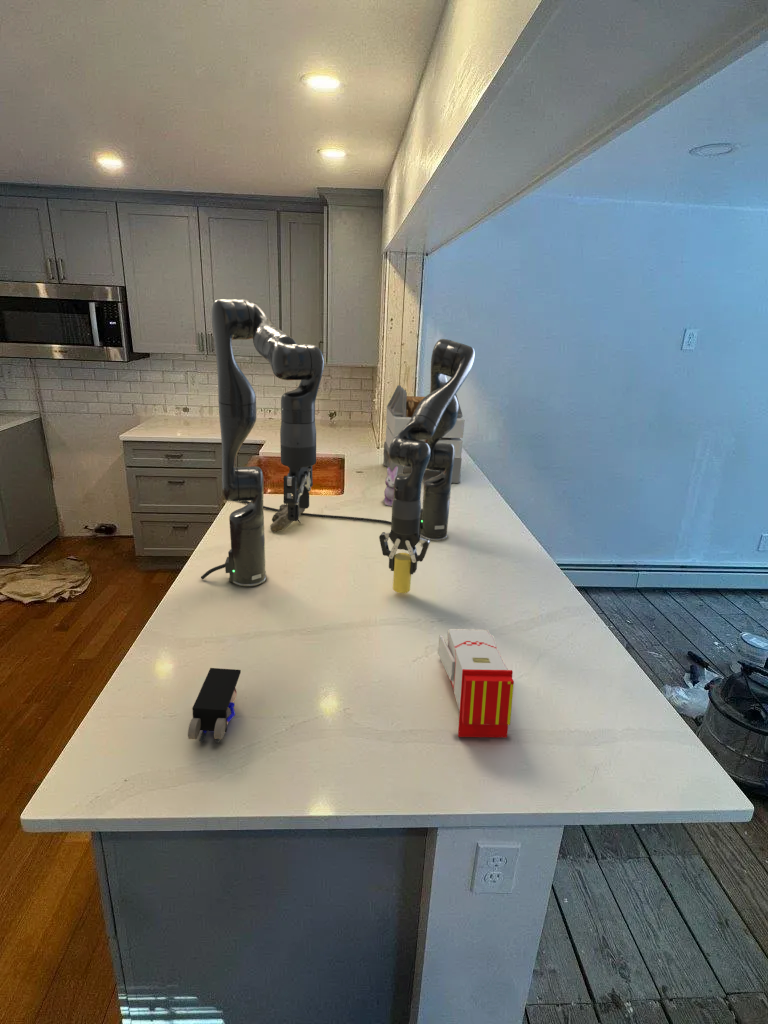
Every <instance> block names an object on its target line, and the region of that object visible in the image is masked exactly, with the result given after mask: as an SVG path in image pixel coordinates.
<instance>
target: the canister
mask: <svg viewBox="0 0 768 1024" xmlns="http://www.w3.org/2000/svg"><path fill="white" fill-rule="evenodd" d="M411 561H412V560H411V556H410V555H409V552H408V553H407V552H396V554H395V556H394V571H393V578H392V590H393V591H394V592H395V593H399V594H407V593H409V592H410V591H411V583H412V580H411V579H412V574H410V568H411Z"/></svg>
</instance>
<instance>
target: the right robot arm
mask: <svg viewBox="0 0 768 1024" xmlns="http://www.w3.org/2000/svg"><path fill="white" fill-rule="evenodd" d="M475 354H476V353H475V349H474V347H472V346H471V345H467V344H465V343H462V342H458V341H455V340H451V339H446V338H441V339H438V340H437V341H436V342H435V344H434V346H433V348H432V353H431V358H430V388H429V389H430V390H429V394H427V395H426V396H423V397H424V398H423V399H422V400H421V401H420V403H419V404H418V406H417V408H416V410H415V412H414V414H413V416H412V418H411V420H410V422H409V423H408V424H407V425H406V426H405V427H404V428H403V429H402V430H401V431H400V432H399V433H398V434H397V436H396V437H395V438H394V439H393V441H392V442H391V444H390V447H389V458H390V460H391V461H392V462H393V463H394V464H397V465H403V466H404V467H407V468H411V471H410V472H406V473H404V472H403V474H399V475H397V476H396V478H395V481H394V498H393V503H392V506H391V521H389V520H385V519H376V518H366V517H359V516H358V517H357V516H346V515H333V514H332V515H331V514H330V515H329V514H321V513H307V512H303V513H301V514H300V516H305V517H316V518H326V519H340V520H351V521H352V520H353V521H363V522H371V523H372V522H373V523H381V524H387V525H390V532H387V533H386V532H385V531H383V532H381V533H380V534H379V536H378V539H379V543H380V548H381V553H382V556H384V557H388V568H389V569H390V572H394V556H395V554H397V553H398V550H404V551H407V552H408V554H409V555H410V556H411V560H412V561H411V568H410V574H411V575H414V574H415V573H416V572H417V570H418V562H420V563H421V562H423V561H424V559H425V557H426V554H427V551H428V549H429V546H430V543H431V541H432V542H440V541H444V540H446V539H447V538H448V525H449V517H450V516H449V514H450V504H451V494H452V493H451V491H452V483H451V480H452V471H453V464H454V457H455V449H454V446H453V445H452V444H447V443H437V442H438V441H439V440H440V439H441V438H442V437H444V436H445V435H446V434H447V433H448V432H449V431H450V430H451V429H452V428H453V427H454V426H455V424H456V420H457V415H458V408H459V405H460V404H459V405H458V402H459V400H458V401H457V398H458V397H457V398H456V396H455V395H457V394H458V392H459V390H460V389H461V387H462V386H463V384H464V383H465V381H466V379H467V378H468V376H469V374H470V372H471V370H472V368H473V365H474V362H475ZM447 377H448V378H450V379H448V378H447ZM420 440H424V441H420ZM426 471H435V472H436V471H437V472H440V471H443V472H442V473H441V472H440V473H439V474H438V475H435V476H432V477H429V478H427V479H425V480H424V476H425V474H426ZM423 481H424V482H423ZM422 485H423V493H422ZM422 496H423V497H422ZM421 497H422V501H421ZM239 502H241V503H242V504H246V505H247V504H249V503H250V502H251V501H239ZM263 510H268V511H271V512H276V513H277V512H279V508H274V507H270V506H265V505H263ZM389 539H390V541H391V542H392V544H393V546H392V548H391V550H390V547H389V542H388V541H389ZM417 544H420V547H421V550H420V553H419V554H418V552H417V551H418V550H417Z"/></svg>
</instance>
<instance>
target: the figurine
mask: <svg viewBox="0 0 768 1024" xmlns="http://www.w3.org/2000/svg"><path fill="white" fill-rule="evenodd" d="M386 472H387V475H386V478H385V486H386V487H385V489H384V494H383V495H384V499H383V503H384V505H385V506H390V507H392V503H393V498H394V481H395V478H396V476H397V472H398V467H397V466H396V467H395V468H394V470H393V471H391V469H390V467H387V468H386Z"/></svg>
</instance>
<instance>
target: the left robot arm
mask: <svg viewBox="0 0 768 1024" xmlns="http://www.w3.org/2000/svg"><path fill="white" fill-rule="evenodd" d="M211 325H212V327H211V328H212V335H213V342H214V350H215V358H216V359H215V361H216V371H217V395H218V396H217V399H218V418H219V427H220V428H219V429H220V439H221V440H220V441H221V490H222V495H223V498H224V500H226V501H227V502H231V503H232V502H240V501H248V502H250V503H249V504H246V505H244V506H242V507H240V508H238V509H235V510H234V511H232V512H231V513H230V514H229V519H228V520H229V534H230V535H229V536H230V549H229V550H228V556H226V559H225V561H224V563H223V564H220V565H217V566H215V567H213V568H210V569H209V570H207V571H206V572H205V573H203V574H202V575H201V576H200V579H201V580H205V579H206V578H207V577H208V576H209V575H211V574H212V573H214V572H216V571H219V570H221V569H225V570H224V571H225V574H229V582H230V583H232V584H234V585H236V586H239V587H255V586H259V585H262V584H264V583H265V581H266V580H267V574H266V573H267V572H266V571H267V570H266V550H265V549H266V544H265V542H266V541H265V515H264V509H263V506H264V491H265V489H264V488H265V479H264V473H263V470H262V468H261V467H260V466H253V465H252V466H235V462H236V459H237V456H238V453H239V452H240V449H241V448H242V445H243V444H244V442H245V440H246V439H247V438H248V436H249V434H250V433H251V431H252V430H253V429H254V427H255V424H256V421H257V395H256V392H255V390H254V387H253V386H252V384H251V383H250V381H249V379H248V378H247V376H246V375H245V373H244V372H243V370H242V369H241V368H240V366H239V365H238V363H237V360H236V358H235V355H234V350H233V345H232V341H246V340H251V339H252V343H253V346H254V347H253V348H254V349H255V351H256V352H257V354H259V355H260V356H261V357H262V358H263V359H265V360H266V361H267V362H268V363H269V366H270V367H271V371H272V373H273V375H274V376H275V377H276V378H278V379H280V380H282V381H300V382H299V385H298V386H297V388H295V389H292V390H290V391H286V392H284V393H282V395H281V398H280V420H281V421H280V429H279V430H280V432H279V433H280V434H279V436H280V441H279V442H280V463H281V464H282V466H285V467H288V468H289V469H288V473H287V475H284V476H283V504H285V505H286V504H288V520H289V521H294V522H298V520H300V516H299V507H300V508H306V509H308V508H310V492H311V490H312V487H313V486H314V482H313V466H315V464H317V426H316V401H317V396H318V392H319V387H320V384H321V381H322V377H323V374H324V369H325V358H324V354H323V352H322V350H321V349H320V347H319V346H317V345H316V344H313V343H297V342H296V340H295V339H294V338H293V337H292V336H290V335H289V334H288V333H287V332H285V331H284V330H282V329H281V328H279V327H278V326H276V325H275V324H274V323H273V321H272V320H271V319H270V318H269V316H268V315H267V314H266V313H265V311H264V310H263V309H262V308H261V306H260V305H259V304H257V303H256V302H255V301H254V300H251V299H247V298H245V299H244V298H241V299H240V298H218V299H215V300H214V301H213V303H212V306H211ZM291 496H293V499H291ZM306 509H305V510H306Z"/></svg>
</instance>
